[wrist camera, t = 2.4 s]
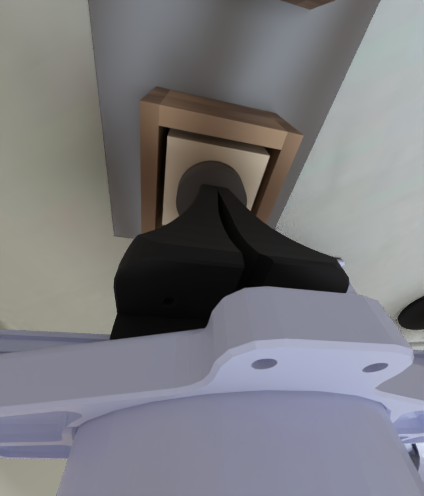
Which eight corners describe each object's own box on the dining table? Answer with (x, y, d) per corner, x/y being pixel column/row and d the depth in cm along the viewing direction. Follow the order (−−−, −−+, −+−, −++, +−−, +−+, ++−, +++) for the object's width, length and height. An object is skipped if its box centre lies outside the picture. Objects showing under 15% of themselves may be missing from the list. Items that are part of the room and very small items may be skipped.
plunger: (256, 135, 14) (276, 165, 10) (235, 206, 17) (244, 247, 13) (173, 119, 13) (164, 144, 9) (167, 196, 16) (159, 236, 13)
